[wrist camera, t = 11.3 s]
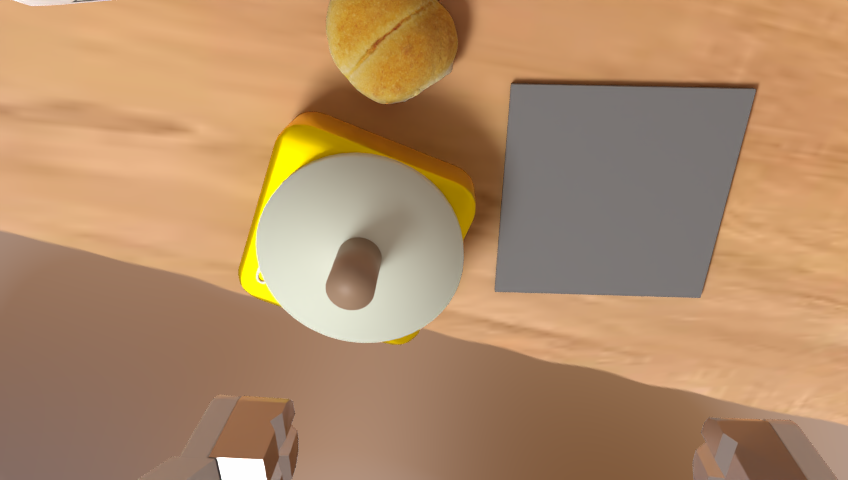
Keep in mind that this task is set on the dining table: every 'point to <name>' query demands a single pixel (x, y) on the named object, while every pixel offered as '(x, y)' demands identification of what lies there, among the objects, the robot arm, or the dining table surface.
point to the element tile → (332, 136)
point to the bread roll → (391, 45)
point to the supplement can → (54, 2)
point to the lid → (360, 247)
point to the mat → (616, 187)
